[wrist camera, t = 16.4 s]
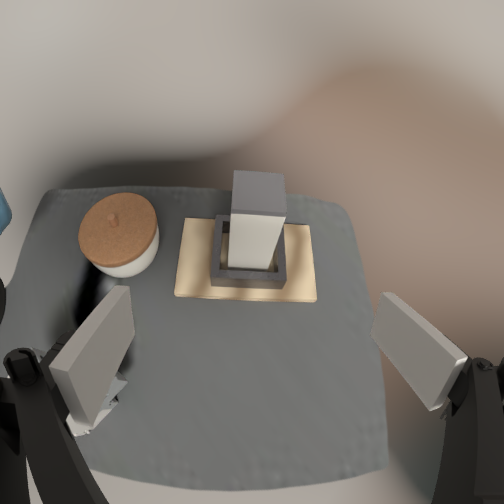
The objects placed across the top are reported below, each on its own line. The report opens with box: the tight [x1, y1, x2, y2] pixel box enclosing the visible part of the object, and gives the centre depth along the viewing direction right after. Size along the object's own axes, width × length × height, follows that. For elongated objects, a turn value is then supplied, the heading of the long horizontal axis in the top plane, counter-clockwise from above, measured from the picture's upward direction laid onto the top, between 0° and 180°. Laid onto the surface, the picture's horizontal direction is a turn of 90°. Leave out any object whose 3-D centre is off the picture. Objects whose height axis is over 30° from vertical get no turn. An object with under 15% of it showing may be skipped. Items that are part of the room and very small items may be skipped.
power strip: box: [228, 170, 287, 272], centre depth 38 cm, size 6×6×16 cm
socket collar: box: [210, 215, 287, 290], centre depth 43 cm, size 11×11×4 cm
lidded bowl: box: [78, 192, 159, 278], centre depth 39 cm, size 13×13×11 cm
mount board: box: [174, 218, 317, 302], centre depth 45 cm, size 22×14×1 cm, turn 90°
